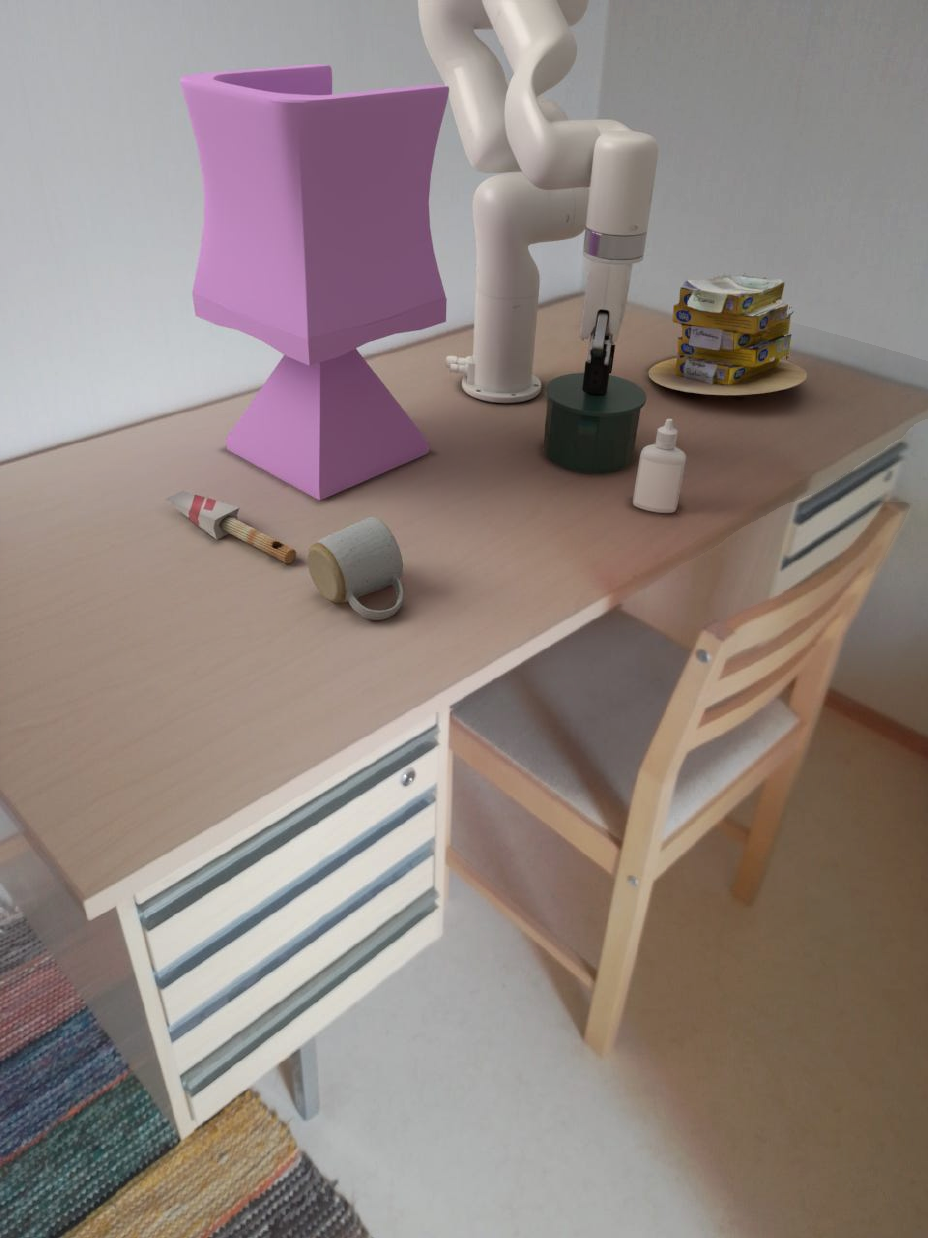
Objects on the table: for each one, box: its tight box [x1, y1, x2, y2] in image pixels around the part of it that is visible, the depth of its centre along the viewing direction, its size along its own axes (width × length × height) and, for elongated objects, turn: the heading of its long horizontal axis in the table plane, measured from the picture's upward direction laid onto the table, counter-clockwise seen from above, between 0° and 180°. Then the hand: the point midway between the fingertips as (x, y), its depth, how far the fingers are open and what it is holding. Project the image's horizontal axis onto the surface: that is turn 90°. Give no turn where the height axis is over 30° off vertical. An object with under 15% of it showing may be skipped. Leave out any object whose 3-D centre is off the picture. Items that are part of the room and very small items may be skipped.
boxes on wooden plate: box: [648, 272, 808, 398], centre depth 152 cm, size 25×25×17 cm
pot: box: [542, 399, 642, 475], centre depth 132 cm, size 13×18×8 cm
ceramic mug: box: [307, 516, 404, 621], centre depth 102 cm, size 11×8×8 cm
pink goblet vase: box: [179, 63, 449, 501], centre depth 118 cm, size 22×22×45 cm
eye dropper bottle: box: [632, 418, 687, 514], centre depth 119 cm, size 4×6×12 cm
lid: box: [544, 355, 647, 417], centre depth 128 cm, size 14×14×6 cm
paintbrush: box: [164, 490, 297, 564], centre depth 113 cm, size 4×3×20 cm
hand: (597, 380), depth 128 cm, fingers open, 6 cm apart
